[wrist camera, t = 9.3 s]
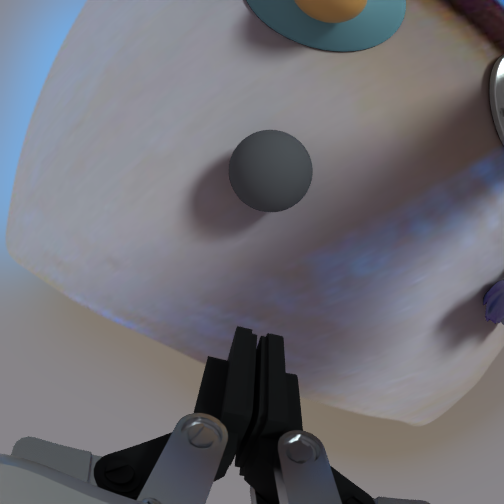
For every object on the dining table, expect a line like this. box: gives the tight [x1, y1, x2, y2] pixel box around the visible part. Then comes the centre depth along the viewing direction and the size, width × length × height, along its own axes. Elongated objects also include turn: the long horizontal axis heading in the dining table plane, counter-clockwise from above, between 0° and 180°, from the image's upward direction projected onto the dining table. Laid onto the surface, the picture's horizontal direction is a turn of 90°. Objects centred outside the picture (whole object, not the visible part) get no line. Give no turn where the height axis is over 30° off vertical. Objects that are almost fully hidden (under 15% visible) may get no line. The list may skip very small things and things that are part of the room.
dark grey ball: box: [229, 130, 312, 212], centre depth 20 cm, size 6×6×6 cm
